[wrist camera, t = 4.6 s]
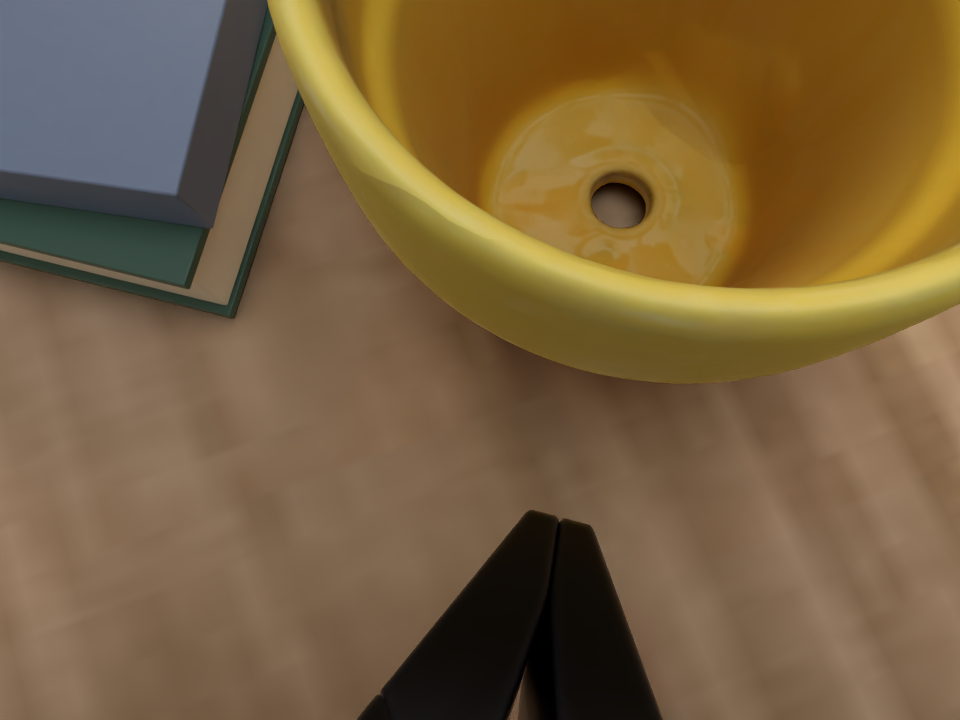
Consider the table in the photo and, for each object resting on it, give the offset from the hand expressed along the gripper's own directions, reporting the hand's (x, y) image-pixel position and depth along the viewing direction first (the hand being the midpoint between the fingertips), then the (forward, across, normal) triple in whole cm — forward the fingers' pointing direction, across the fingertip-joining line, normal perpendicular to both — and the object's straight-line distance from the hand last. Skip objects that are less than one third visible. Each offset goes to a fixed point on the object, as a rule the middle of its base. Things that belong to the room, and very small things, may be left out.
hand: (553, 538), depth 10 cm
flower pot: (+10, 0, 0) cm, 10 cm away
